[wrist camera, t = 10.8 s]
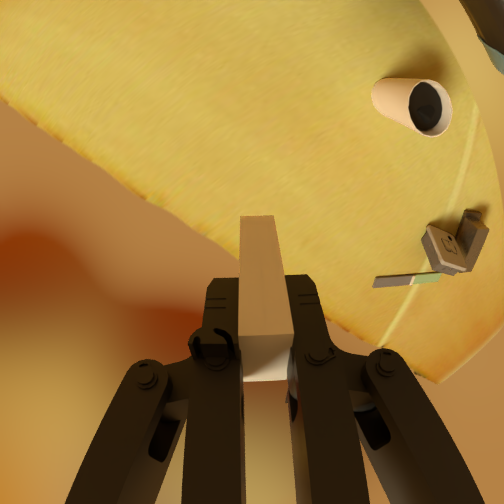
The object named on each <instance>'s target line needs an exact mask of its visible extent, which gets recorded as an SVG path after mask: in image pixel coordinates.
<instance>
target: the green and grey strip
mask: <svg viewBox="0 0 504 504" xmlns="http://www.w3.org/2000/svg"><path fill="white" fill-rule="evenodd" d="M441 274H442V273H441V272H434V273H423V274H411V275H399V276H386V277H376V278H375V281H374V283H373V286H372V287H373V288H380V287H391V286H402V285H410V286H412V284H421V283H430V282H438V280H439V278H440V276H441Z"/></svg>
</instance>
